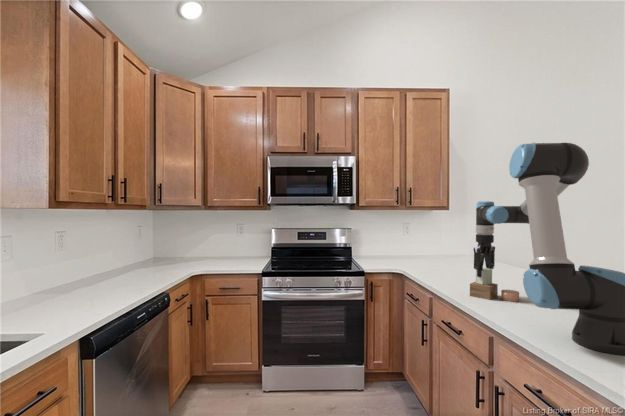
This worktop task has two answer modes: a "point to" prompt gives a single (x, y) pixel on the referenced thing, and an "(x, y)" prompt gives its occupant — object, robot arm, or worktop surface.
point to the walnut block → (484, 290)
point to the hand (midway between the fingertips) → (483, 282)
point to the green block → (486, 276)
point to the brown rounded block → (510, 295)
